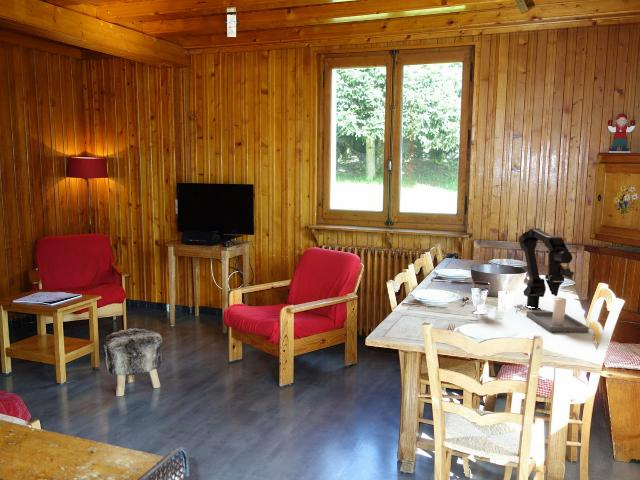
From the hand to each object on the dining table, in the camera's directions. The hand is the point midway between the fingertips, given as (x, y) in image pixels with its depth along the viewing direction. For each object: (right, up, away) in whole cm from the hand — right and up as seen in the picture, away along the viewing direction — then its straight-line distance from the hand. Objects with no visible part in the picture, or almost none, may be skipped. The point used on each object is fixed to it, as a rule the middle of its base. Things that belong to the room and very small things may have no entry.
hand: (554, 295), depth 274 cm
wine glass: (-34, -10, +7) cm, 36 cm away
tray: (-2, -13, -7) cm, 15 cm away
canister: (-4, -13, -13) cm, 19 cm away
